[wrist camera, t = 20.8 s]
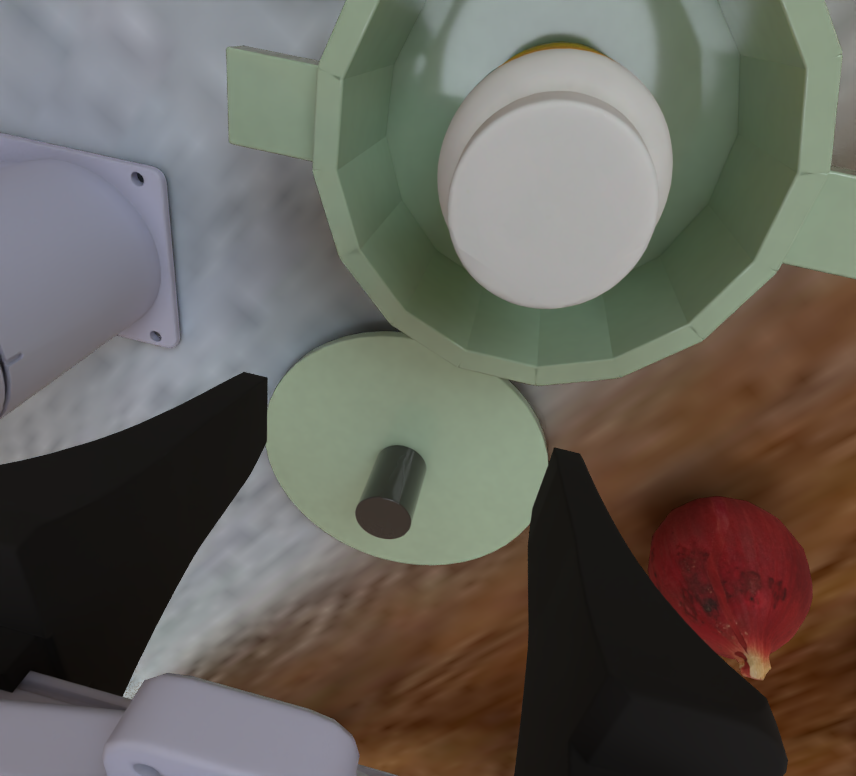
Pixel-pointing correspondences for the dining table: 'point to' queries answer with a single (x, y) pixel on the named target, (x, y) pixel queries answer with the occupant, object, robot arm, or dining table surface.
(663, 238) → the pot
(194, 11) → the dining table surface
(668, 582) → the onion
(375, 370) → the lid
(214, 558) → the dining table surface
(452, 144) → the supplement bottle
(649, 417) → the dining table surface
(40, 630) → the robot arm
